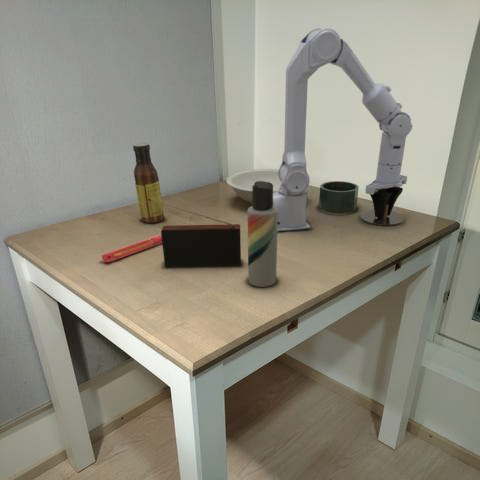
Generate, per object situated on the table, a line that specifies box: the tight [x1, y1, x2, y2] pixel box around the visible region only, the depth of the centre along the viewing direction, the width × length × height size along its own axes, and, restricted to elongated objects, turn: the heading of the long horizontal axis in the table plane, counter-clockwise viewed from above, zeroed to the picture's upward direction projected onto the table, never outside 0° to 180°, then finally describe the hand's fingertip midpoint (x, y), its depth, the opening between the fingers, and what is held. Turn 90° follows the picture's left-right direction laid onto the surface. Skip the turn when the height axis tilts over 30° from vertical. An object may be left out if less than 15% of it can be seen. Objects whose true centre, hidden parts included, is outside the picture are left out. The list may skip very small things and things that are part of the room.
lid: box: [359, 203, 405, 227], centre depth 123 cm, size 11×11×5 cm
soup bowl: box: [225, 168, 282, 204], centre depth 139 cm, size 24×24×7 cm
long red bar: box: [101, 233, 162, 263], centre depth 112 cm, size 24×2×5 cm
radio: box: [148, 199, 242, 268], centre depth 100 cm, size 19×3×15 cm, turn 90°
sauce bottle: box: [132, 142, 165, 224], centre depth 123 cm, size 7×6×20 cm
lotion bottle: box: [247, 181, 278, 288], centre depth 91 cm, size 6×6×20 cm
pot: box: [318, 180, 360, 214], centre depth 132 cm, size 10×10×6 cm
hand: (382, 215), depth 124 cm, fingers closed on lid, 2 cm apart
